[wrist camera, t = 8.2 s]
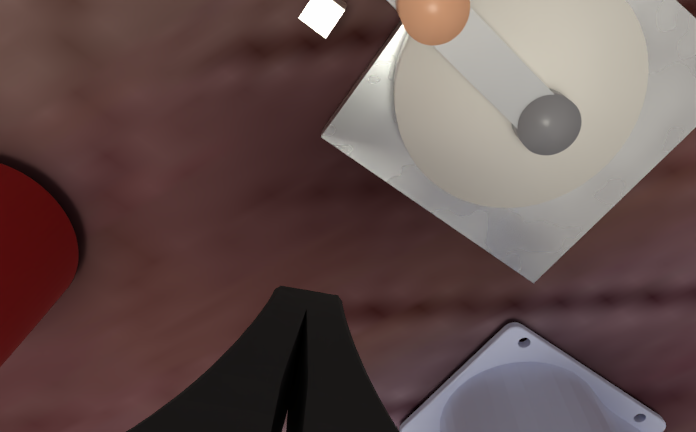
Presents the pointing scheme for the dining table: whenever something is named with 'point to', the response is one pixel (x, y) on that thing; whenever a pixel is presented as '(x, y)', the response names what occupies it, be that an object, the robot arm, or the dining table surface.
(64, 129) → the dining table surface
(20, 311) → the beverage can
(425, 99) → the white lever switch
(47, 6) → the dining table surface
